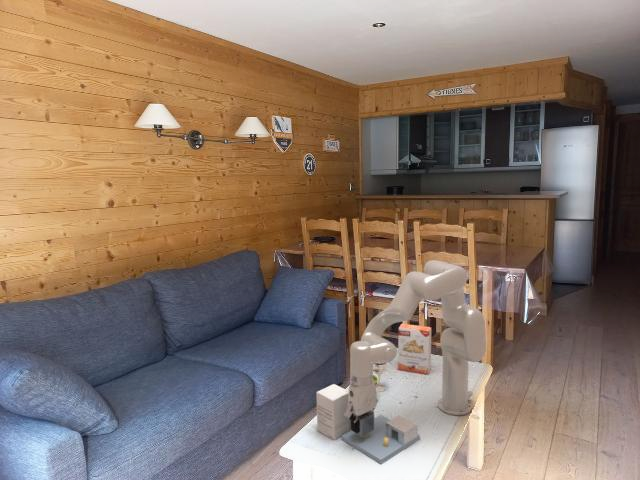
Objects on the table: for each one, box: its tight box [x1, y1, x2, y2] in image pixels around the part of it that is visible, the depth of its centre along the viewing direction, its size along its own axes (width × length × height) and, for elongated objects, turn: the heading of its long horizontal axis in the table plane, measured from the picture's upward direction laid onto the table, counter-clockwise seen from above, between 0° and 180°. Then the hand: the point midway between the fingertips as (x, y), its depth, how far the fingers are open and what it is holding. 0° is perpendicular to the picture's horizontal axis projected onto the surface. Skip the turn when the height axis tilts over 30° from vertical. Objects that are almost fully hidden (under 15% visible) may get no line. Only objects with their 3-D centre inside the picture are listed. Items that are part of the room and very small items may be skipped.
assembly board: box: [341, 414, 421, 465], centre depth 158 cm, size 20×18×9 cm
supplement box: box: [315, 383, 351, 441], centre depth 164 cm, size 9×9×15 cm
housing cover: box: [386, 415, 418, 445], centre depth 158 cm, size 7×8×4 cm
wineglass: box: [373, 363, 388, 393], centre depth 194 cm, size 7×7×12 cm
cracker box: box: [397, 323, 432, 375], centre depth 210 cm, size 14×6×21 cm, turn 67°
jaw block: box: [349, 411, 375, 436], centre depth 157 cm, size 6×6×6 cm
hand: (361, 427), depth 158 cm, fingers closed on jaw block, 6 cm apart
